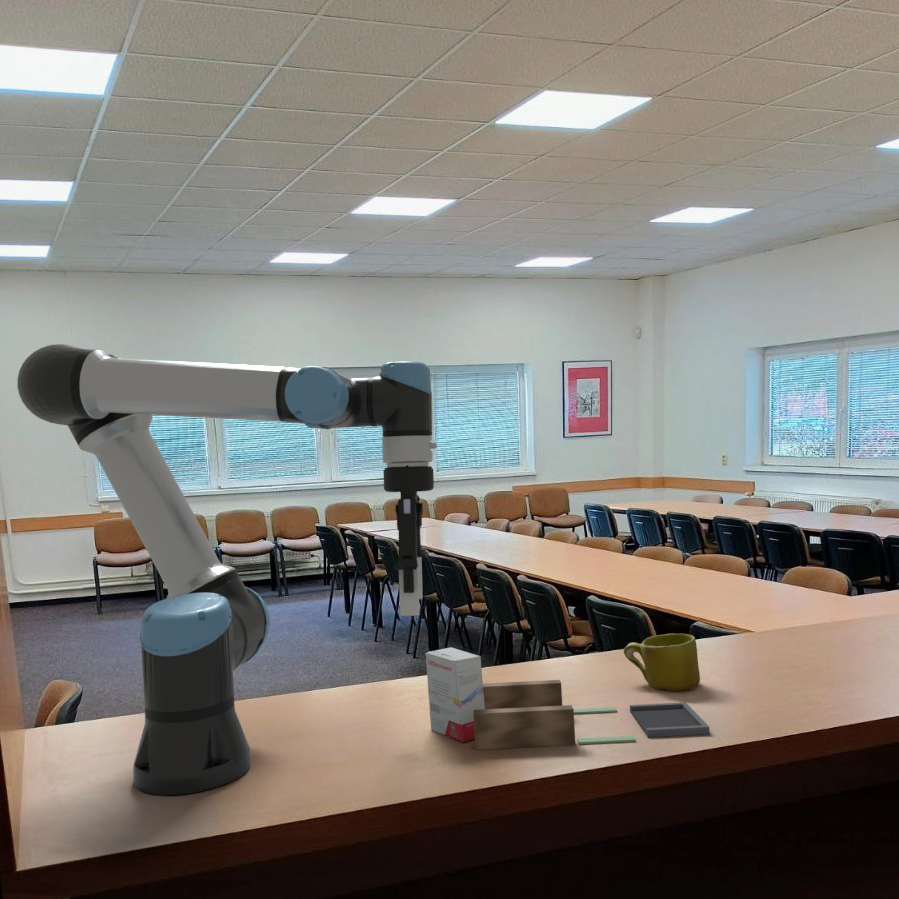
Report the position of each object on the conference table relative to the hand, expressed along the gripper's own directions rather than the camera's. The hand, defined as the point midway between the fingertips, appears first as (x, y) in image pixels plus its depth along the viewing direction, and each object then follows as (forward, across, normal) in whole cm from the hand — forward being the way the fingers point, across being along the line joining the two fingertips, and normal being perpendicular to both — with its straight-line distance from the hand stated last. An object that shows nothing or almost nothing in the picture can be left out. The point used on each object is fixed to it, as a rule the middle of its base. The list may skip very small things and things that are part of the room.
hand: (412, 606), depth 121 cm
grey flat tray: (+18, -1, -37) cm, 41 cm away
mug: (+18, +18, -42) cm, 49 cm away
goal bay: (+18, -1, -27) cm, 33 cm away
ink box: (+19, 0, -6) cm, 20 cm away
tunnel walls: (+19, 0, -16) cm, 24 cm away
